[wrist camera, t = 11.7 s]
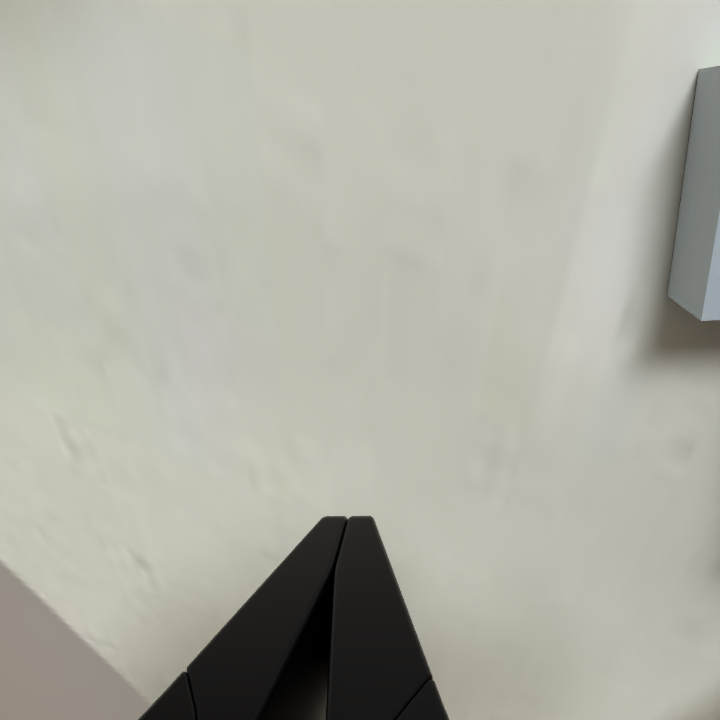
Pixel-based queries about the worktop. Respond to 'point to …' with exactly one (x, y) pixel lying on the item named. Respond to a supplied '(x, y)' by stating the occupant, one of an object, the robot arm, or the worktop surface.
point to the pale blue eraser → (700, 208)
